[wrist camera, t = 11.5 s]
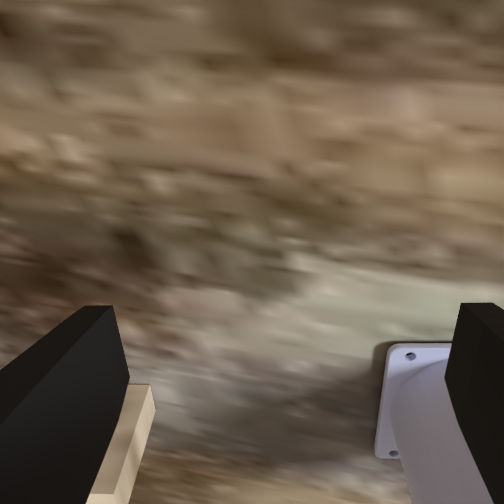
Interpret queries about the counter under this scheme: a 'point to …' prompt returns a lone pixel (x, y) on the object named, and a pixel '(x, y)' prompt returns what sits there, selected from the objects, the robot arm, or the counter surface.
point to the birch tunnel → (125, 448)
